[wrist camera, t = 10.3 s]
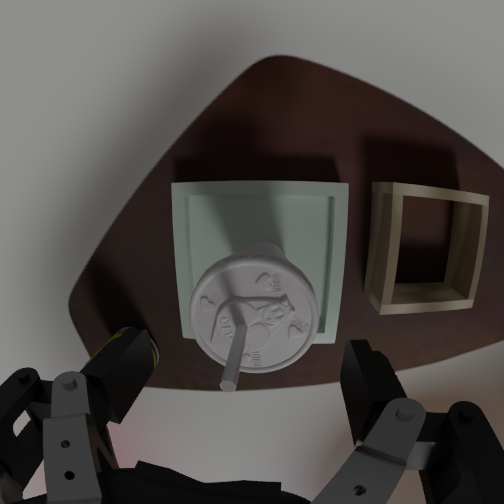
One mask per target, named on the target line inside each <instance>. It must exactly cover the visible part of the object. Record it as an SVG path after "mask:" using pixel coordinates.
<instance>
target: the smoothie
mask: <svg viewBox="0 0 504 504" xmlns="http://www.w3.org/2000/svg"><path fill="white" fill-rule="evenodd" d="M188 317H189V324H190V328H191V331H192V333H193V335H194V337H195V339H196V341H197V343H198V344H199V345H200V347H201V348H202V349H203V350H204V351H205V352H206V353H207V354H208V355H209V356H210V357H211V358H213V359H214V360H215V361H217V362H219V363H220V364H222V365H224V366H225V369H224V373H223V376H222V380H221V383H220V387H221V389H222V390H223V391H226V392H233V391H234V390H235V389H236V385H237V380H238V375H239V371H242V372H249V373H264V372H270V371H275V370H278V369H281V368H284V367H286V366H288V365H290V364H291V363H293V362H295V361H296V360H297V359H299V358H300V357H301V356H302V355H303V354H304V353H305V352H306V351H307V350H308V348H309V347H310V345H311V344H312V342H313V340H314V338H315V336H316V333H317V330H318V325H319V310H318V299H317V297H316V294H315V291H314V288H313V286H312V284H311V282H310V281H309V280H308V278H307V277H306V276H305V274H304V273H303V272H302V271H301V270H300V269H299V268H297V267H296V266H295V265H293V264H292V263H291V262H289V261H288V259H287V258H286V256H285V255H284V253H283V252H282V250H281V249H280V248H279V247H278V246H276V245H275V244H273V243H271V242H267V241H258V242H254V243H252V244H250V245H248V246H247V247H246V248H244V249H243V250H242V251H240V252H239V253H235V254H233V255H230V256H228V257H225V258H223V259H220V260H219V261H217V262H216V263H215V264H213V265H212V266H211V267H209V268H208V269H207V270H206V271H205V272H204V274H203V275H202V277H201V278H200V279H199V281H198V282H197V285H196V287H195V288H194V290H193V292H192V295H191V298H190V302H189V308H188Z"/></svg>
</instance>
